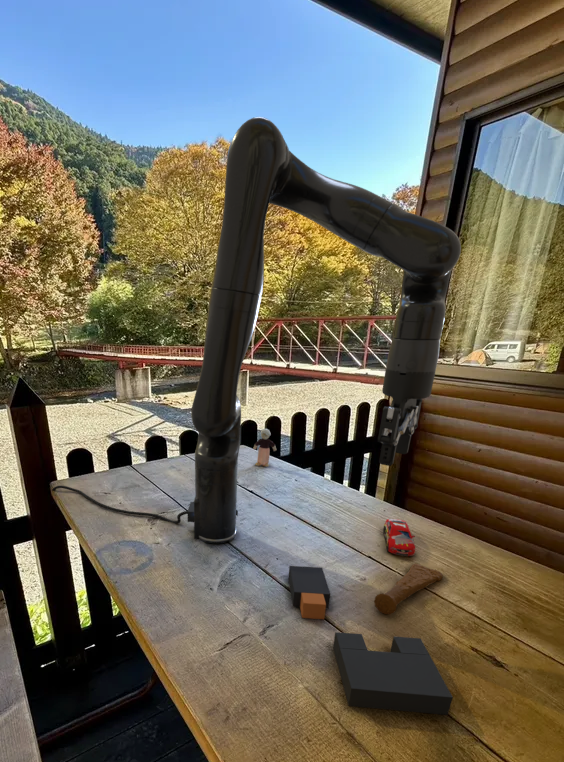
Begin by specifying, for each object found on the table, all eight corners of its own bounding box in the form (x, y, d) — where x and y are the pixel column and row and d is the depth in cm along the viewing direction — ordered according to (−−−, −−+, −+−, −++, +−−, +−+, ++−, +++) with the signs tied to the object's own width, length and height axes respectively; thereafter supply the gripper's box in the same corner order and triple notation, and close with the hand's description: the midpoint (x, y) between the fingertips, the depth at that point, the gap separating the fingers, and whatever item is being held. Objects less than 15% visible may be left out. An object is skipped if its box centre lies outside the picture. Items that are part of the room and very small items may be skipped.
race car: (415, 561, 83) (419, 544, 82) (386, 556, 85) (389, 539, 83) (407, 531, 95) (410, 515, 93) (382, 527, 96) (384, 512, 95)
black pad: (348, 706, 52) (351, 688, 51) (332, 647, 62) (335, 631, 61) (448, 715, 51) (453, 697, 50) (416, 654, 60) (420, 638, 59)
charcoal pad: (294, 617, 68) (296, 602, 67) (288, 579, 78) (289, 565, 77) (331, 620, 67) (333, 605, 66) (320, 581, 77) (322, 567, 76)
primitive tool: (414, 565, 82) (418, 549, 80) (444, 576, 78) (448, 561, 77) (370, 609, 70) (373, 592, 68) (403, 625, 66) (407, 608, 65)
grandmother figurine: (252, 466, 137) (253, 429, 133) (252, 462, 141) (254, 426, 136) (275, 467, 136) (278, 430, 131) (275, 463, 139) (277, 427, 135)
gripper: (400, 362, 76) (385, 446, 82) (372, 369, 66) (358, 463, 72) (445, 365, 71) (426, 453, 77) (423, 373, 61) (403, 474, 67)
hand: (393, 458), depth 75 cm, fingers open, 8 cm apart
